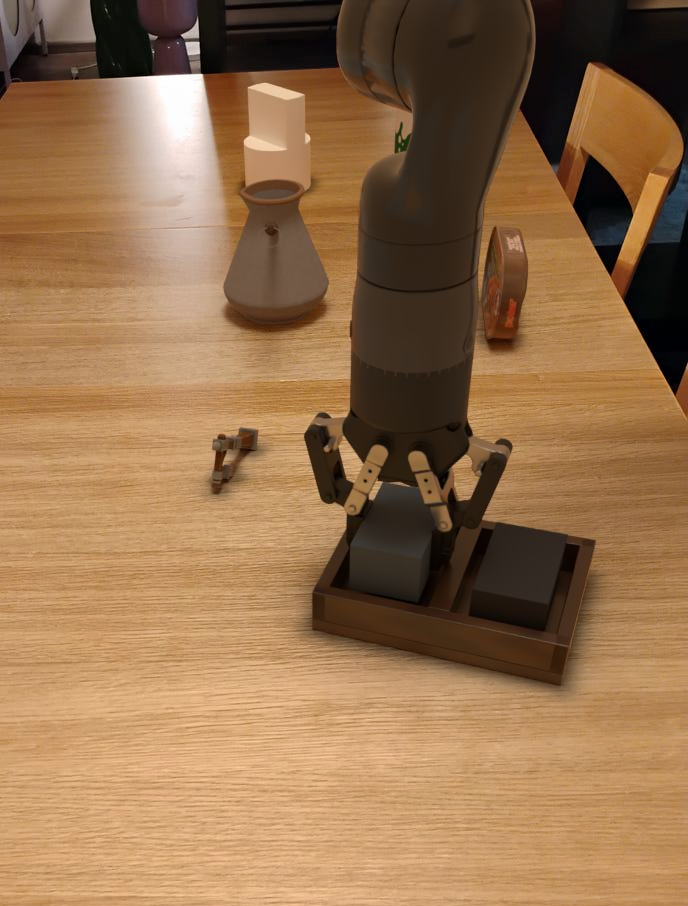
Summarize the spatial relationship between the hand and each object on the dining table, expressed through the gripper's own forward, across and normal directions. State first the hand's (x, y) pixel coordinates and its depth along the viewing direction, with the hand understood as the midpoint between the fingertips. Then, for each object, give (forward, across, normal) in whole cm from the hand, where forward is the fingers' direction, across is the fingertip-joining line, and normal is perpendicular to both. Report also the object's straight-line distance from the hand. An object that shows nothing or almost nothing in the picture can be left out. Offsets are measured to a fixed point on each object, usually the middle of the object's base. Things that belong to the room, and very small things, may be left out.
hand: (398, 555), depth 75 cm
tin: (+4, +2, -46) cm, 46 cm away
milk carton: (+4, +17, -75) cm, 77 cm away
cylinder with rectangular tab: (+4, +39, -79) cm, 88 cm away
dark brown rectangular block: (+2, -8, 0) cm, 9 cm away
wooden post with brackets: (+3, +18, -12) cm, 22 cm away
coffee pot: (+4, +24, -38) cm, 45 cm away
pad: (+1, 0, 0) cm, 1 cm away
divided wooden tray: (+3, -4, 0) cm, 5 cm away
